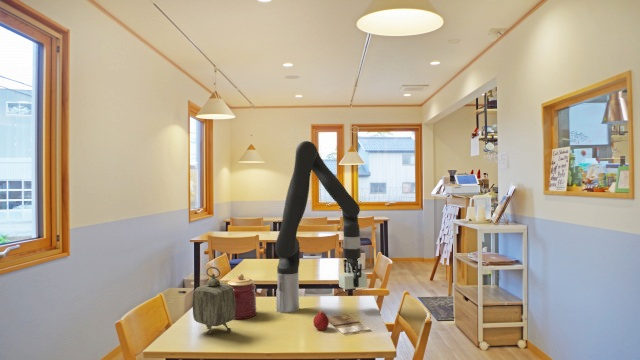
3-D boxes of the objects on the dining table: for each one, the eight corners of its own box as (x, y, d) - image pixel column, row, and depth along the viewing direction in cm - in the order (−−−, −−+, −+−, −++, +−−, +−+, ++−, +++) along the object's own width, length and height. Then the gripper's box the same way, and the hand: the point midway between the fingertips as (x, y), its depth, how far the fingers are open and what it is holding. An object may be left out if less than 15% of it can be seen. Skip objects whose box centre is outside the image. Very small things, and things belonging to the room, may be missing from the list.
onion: (320, 327, 169) (320, 307, 169) (332, 331, 165) (331, 310, 165) (310, 332, 164) (310, 311, 164) (322, 335, 161) (322, 313, 161)
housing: (344, 289, 185) (344, 276, 185) (339, 286, 190) (338, 273, 190) (367, 286, 189) (366, 274, 189) (360, 283, 194) (360, 271, 194)
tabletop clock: (235, 331, 166) (234, 266, 166) (219, 339, 158) (218, 271, 158) (208, 325, 173) (207, 263, 173) (190, 332, 166) (189, 267, 166)
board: (345, 338, 158) (345, 334, 158) (322, 320, 178) (322, 316, 178) (372, 333, 162) (372, 330, 162) (347, 316, 182) (347, 313, 182)
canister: (253, 319, 180) (253, 277, 180) (222, 319, 180) (221, 277, 180) (258, 310, 193) (258, 270, 193) (229, 310, 193) (229, 270, 193)
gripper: (337, 245, 195) (338, 282, 195) (351, 249, 181) (352, 290, 181) (352, 244, 198) (353, 280, 198) (367, 248, 184) (368, 288, 184)
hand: (352, 285), depth 189 cm, fingers closed on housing, 6 cm apart
